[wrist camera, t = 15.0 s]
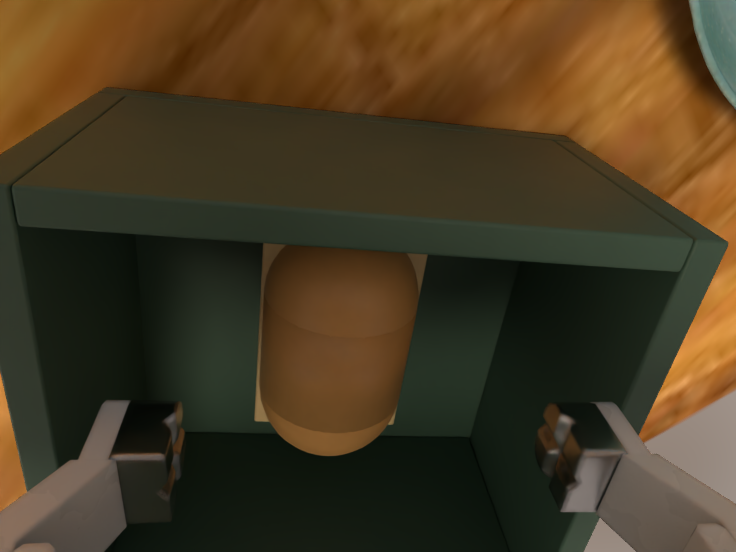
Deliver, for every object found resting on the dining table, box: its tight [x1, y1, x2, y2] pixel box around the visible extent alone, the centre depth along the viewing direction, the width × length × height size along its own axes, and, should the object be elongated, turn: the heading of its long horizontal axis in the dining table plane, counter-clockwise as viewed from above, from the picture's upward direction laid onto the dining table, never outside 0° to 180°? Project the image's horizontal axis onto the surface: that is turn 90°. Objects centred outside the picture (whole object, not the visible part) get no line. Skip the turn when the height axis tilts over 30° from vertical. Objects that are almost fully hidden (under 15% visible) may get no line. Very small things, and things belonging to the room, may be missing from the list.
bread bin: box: [0, 87, 728, 552], centre depth 17 cm, size 14×15×8 cm
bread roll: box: [254, 243, 428, 456], centre depth 18 cm, size 8×5×5 cm, turn 173°
